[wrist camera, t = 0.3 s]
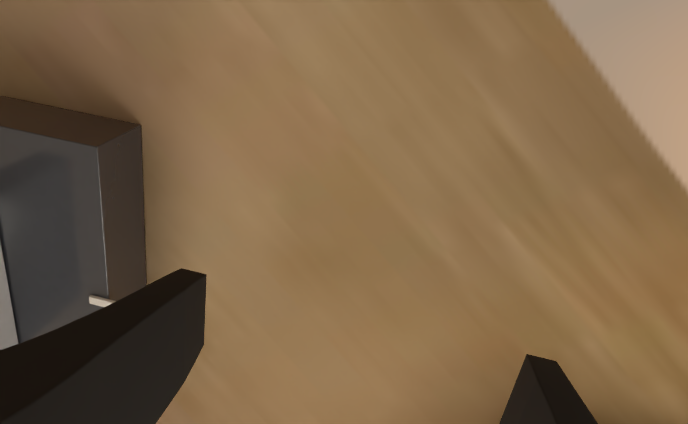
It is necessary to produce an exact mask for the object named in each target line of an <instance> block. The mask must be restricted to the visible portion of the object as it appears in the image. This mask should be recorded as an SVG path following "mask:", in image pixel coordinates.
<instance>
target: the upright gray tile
mask: <svg viewBox="0 0 688 424" xmlns="http://www.w3.org/2000/svg"><path fill="white" fill-rule="evenodd" d="M16 344H19V343H18V338H17V332H16V326H15V320H14V315H13V309H12V303H11V298H10V292H9V286H8V281H7V275H6V269H5V263H4V258H3V252H2V246H1V241H0V350H2V349H5V348H8V347H11V346H13V345H16Z"/></svg>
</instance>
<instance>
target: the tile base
mask: <svg viewBox="0 0 688 424" xmlns="http://www.w3.org/2000/svg"><path fill="white" fill-rule="evenodd" d="M0 241H1V246H2V252H3V258H4V263H5V269H6V275H7V281H8V286H9V292H10V298H11V303H12V309H13V315H14V320H15V326H16V332H17V338H18V343H22V342H25V341H27V340H30V339H33V338H35V337H38V336H40V335H43V334H45V333H48V332H50V331H53V330H55V329H57V328H60V327H62V326H64V325H66V324H69V323H71V322H73V321H75V320H77V319H80V318H82V317H84V316H86V315H88V314H91V313H93V312H95V311H97V310H100V309H102V308H104V307H106V306H108V305H110V304H112V303H114V302H116V301H118V300H120V299H122V298H124V297H126V296H128V295H130V294H132V293H134V292H136V291H138V290H139V289H141V288H143V287H145V286H146V258H145V228H144V199H143V169H142V140H141V125H139V124H134V123H129V122H124V121H119V120H115V119H110V118H105V117H100V116H95V115H91V114H86V113H81V112H76V111H71V110H67V109H62V108H57V107H52V106H47V105H43V104H38V103H33V102H28V101H23V100H19V99H14V98H9V97H4V96H0Z"/></svg>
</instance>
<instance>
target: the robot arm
mask: <svg viewBox="0 0 688 424" xmlns="http://www.w3.org/2000/svg"><path fill="white" fill-rule="evenodd" d="M205 298H206V274H202V273H198V272H194V271H190V270H186V269H182V268H181V269H179V270H177V271H175V272H173V273H171V274H169V275H167V276H165V277H163V278H161V279H159V280H157V281H155V282H153V283H151V284H149V285H147V286H145V287H143V288H141V289H139V290H138V291H136V292H134V293H132V294H130V295H128V296H126V297H124V298H122V299H120V300H118V301H116V302H114V303H112V304H110V305H108V306H106V307H104V308H102V309H100V310H97V311H95V312H93V313H91V314H88V315H86V316H84V317H82V318H80V319H77V320H75V321H73V322H71V323H69V324H66V325H64V326H62V327H60V328H57V329H55V330H53V331H50V332H48V333H45V334H43V335H40V336H38V337H35V338H33V339H30V340H27V341H25V342H22V343H19V344H16V345H13V346H11V347H8V348H5V349H2V350H0V424H156V422H157V421H158V419H159V418H160V417H161V415H162V414H163V412H164V411H165V409H166V408H167V407H168V405H169V404H170V402H171V401H172V399H173V398H174V396H175V395H176V394H177V392H178V391H179V389H180V388H181V386H182V385H183V383H184V381H185V380H186V378H187V376H188V374H189V372H190V370H191V369H192V367H193V365H194V363H195V361H196V359H197V357H198V355H199V353H200V351H201V349H202V347H203V345H204V324H205ZM500 424H598V423H597V422H596V420H595V419H594V417H593V416H592V414H591V413H590V411H589V410H588V408H587V407H586V405H585V404H584V402H583V401H582V399H581V398H580V396H579V395H578V393H577V392H576V390H575V389H574V387H573V386H572V384H571V383H570V381H569V380H568V378H567V377H566V375H565V374H564V372H563V371H562V369H561V368H560V366H559V365H558V363H557V362H556V361H553V360H549V359H545V358H541V357H537V356H532V355H528V354H527V355H526V357H525V360H524V362H523V365H522V367H521V370H520V373H519V375H518V378H517V380H516V383H515V385H514V388H513V390H512V393H511V395H510V398H509V400H508V403H507V405H506V408H505V411H504V413H503V416H502V418H501V421H500Z"/></svg>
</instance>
